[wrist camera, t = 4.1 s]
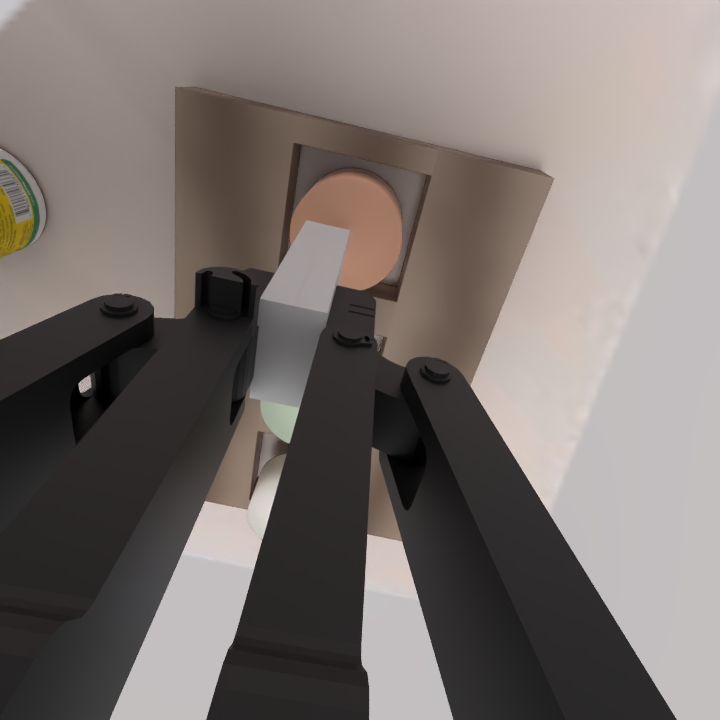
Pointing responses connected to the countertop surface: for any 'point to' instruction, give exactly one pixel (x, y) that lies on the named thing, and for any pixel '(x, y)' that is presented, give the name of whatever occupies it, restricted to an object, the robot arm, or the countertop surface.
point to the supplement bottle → (18, 206)
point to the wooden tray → (393, 304)
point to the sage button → (279, 419)
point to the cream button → (264, 495)
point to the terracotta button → (356, 222)
